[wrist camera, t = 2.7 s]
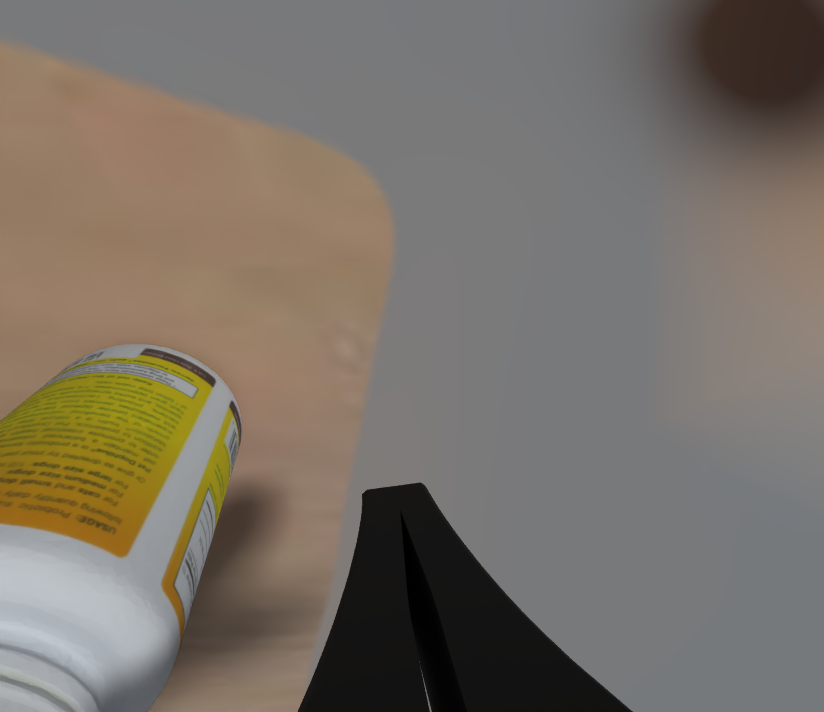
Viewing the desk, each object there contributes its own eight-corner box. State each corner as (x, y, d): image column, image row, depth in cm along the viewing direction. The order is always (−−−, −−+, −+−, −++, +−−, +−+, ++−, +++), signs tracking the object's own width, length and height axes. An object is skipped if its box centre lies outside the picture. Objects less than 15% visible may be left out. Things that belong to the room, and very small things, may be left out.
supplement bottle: (14, 378, 13) (-732, 902, 4) (188, 309, 13) (-137, 663, 4) (128, 506, 16) (-160, 1012, 6) (275, 447, 16) (199, 864, 6)
